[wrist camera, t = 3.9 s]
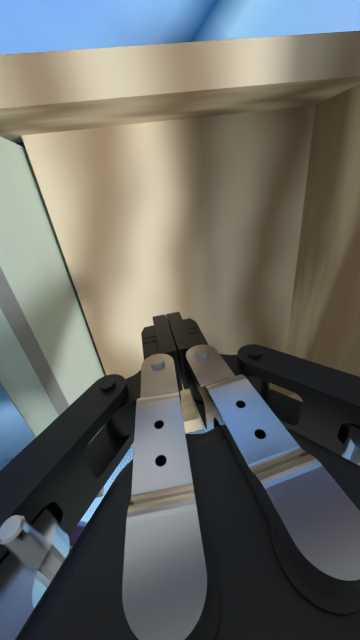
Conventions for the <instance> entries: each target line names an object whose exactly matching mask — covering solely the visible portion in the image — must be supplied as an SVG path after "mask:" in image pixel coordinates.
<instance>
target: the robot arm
mask: <svg viewBox="0 0 360 640" xmlns="http://www.w3.org/2000/svg"><path fill="white" fill-rule="evenodd" d="M152 318H153V323H154V325H153V326H148V327H144V329H143V331H142V332H141V337H142V347H143V356H144V361H143V363H142V366H141V370H140V371H139V372H138V373H136V374H135V375H133V376H131V377H129V378H127V379H125V378H124V377H123V376H121V375H118V374H110V375H106V376H104V377H102V378H100V379H98V380H97V381H96V382H94V383H93V384H92V385H91V386H90V387H89V388H88V389H87V390H86V391H85V392H84V393H83V394H82V395H81V396H80V397H79V398H77V399H76V400H75V401H74V402H73V403H72V404H71V405H70V406H69V407H68V408H67V409H66V410H65V411H64V412H63V413H62V414H60V415H59V416H58V417H57V418H56V419H55V420H54V421H53V422H52V423H51V424H50V425H49V426H48V427H47V428H46V429H45V430H44V431H42V432H41V433H40V434H39V435H38V436H37V437H36V438H35V439H34V440H33V441H32V442H31V443H30V444H29V445H28V446H27V447H25V448H24V449H23V450H22V451H21V452H20V453H19V454H18V455H17V456H16V457H15V458H14V459H13V460H12V461H11V462H10V463H8V464H7V465H6V466H5V467H4V468H3V469H2V470H1V471H0V640H360V377H359V376H356V375H352V374H349V373H346V372H343V371H340V370H337V369H334V368H330V367H327V366H324V365H321V364H318V363H315V362H311V361H308V360H305V359H302V358H299V357H296V356H293V355H289V354H286V353H283V352H280V351H277V350H274V349H271V348H267V347H264V346H261V345H256V344H250V345H245V346H243V347H241V348H240V349H239V350H238V353H237V355H225V354H219V353H218V351H217V350H216V349H215V348H214V347H212V346H209V344H208V343H207V341H206V339H205V337H204V335H203V334H202V332H201V330H200V328H199V326H198V324H197V323H196V321H194V320H192V319H191V318H188V319H182V317H181V315H180V312H174V313H168V314H166V315H165V314H164V315H158V316H153V317H152ZM270 383H272V384H274V385H277V386H279V387H282V388H284V389H287V390H289V391H292V392H294V393H296V394H297V395H299V396H300V398H301V399H302V401H303V402H301V401H299V400H296V399H294V398H291V397H289V396H287V395H284V394H282V393H280V392H277V391H275V390H273V389H270V388H269V387H270ZM182 384H183V387H184V390H186V389H190V392H191V399H192V403H193V406H194V408H195V411H196V413H197V415H198V418H199V420H200V423H201V425H202V427H203V430H204V432H205V433H203V434H186V433H185V427H184V421H183V415H182V408H181V393H180V391H182V390H183V388H182ZM103 426H104V427H103ZM102 427H103V428H102ZM97 433H98V434H97ZM92 439H93V440H92ZM91 440H92V441H91ZM133 442H134V454H133V460H132V461H130V462H129V463H128V464H127V465H126V466H125V467H124V468H123V469H122V471H121V472H120V473H119V475H118V476H117V477H116V479H115V480H114V482H113V483H112V485H111V487H110V488H109V490H108V491H107V493H106V495H105V496H104V498H103V499H102V501H101V503H100V504H99V506H98V507H97V509H96V511H95V512H94V514H93V515H92V517H91V519H90V520H89V522H88V523H87V525H86V527H85V528H84V530H83V531H82V533H81V535H80V536H79V538H78V539H77V541H76V543H75V544H74V546H73V547H72V549H71V551H70V552H69V536H70V534H71V533H72V531H73V530H74V529H75V527H76V526H77V524H78V523H79V521H80V520H81V518H82V517H83V515H84V514H85V512H86V511H87V510H88V508H89V507H90V505H91V504H92V502H93V501H94V499H95V498H96V496H97V495H98V494H99V492H100V491H101V489H102V488H103V486H104V485H105V483H106V482H107V480H108V479H109V477H110V476H111V475H112V473H113V472H114V470H115V469H116V467H117V466H118V464H119V463H120V461H121V460H122V458H123V457H124V456H125V454H126V453H127V451H128V450H129V448H130V447H131V445H132V444H133ZM68 553H69V554H68Z"/></svg>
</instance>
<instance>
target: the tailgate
mask: <svg viewBox="0 0 360 640" xmlns="http://www.w3.org/2000/svg"><path fill="white" fill-rule="evenodd" d="M104 376H106V373H105V370H104V367H103V364H102V362H101V359H100V356H99V353H98V350H97V347H96V345H95V342H94V339H93V336H92V333H91V331H90V328H89V325H88V322H87V319H86V317H85V314H84V311H83V308H82V305H81V302H80V300H79V297H78V294H77V291H76V288H75V286H74V283H73V280H72V277H71V274H70V271H69V269H68V266H67V263H66V260H65V257H64V255H63V252H62V249H61V246H60V243H59V240H58V238H57V235H56V232H55V229H54V226H53V224H52V221H51V218H50V215H49V212H48V209H47V207H46V204H45V201H44V198H43V195H42V193H41V190H40V187H39V184H38V181H37V179H36V176H35V173H34V170H33V167H32V164H31V162H30V159H29V156H28V153H27V150H26V148H24V147H22V146H20V145H18V144H16V143H14V142H11V141H9V140H7V139H5V138H3V137H1V136H0V384H1V386H2V387H3V389H4V390H5V392H6V393H7V395H8V396H9V398H10V399H11V401H12V402H13V404H14V406H15V407H16V409H17V410H18V412H19V413H20V415H21V416H22V418H23V419H24V421H25V422H26V424H27V425H28V427H29V428H30V430H31V432H32V433H33V435H34V436H35V438H36V437H37V436H38V435H39V434H40V433H41V432H42V431H44V430H45V429H46V428H47V427H48V426H49V425H50V424H51V423H52V422H53V421H54V420H55V419H56V418H57V417H58V416H59V415H60V414H62V413H63V412H64V411H65V410H66V409H67V408H68V407H69V406H70V405H71V404H72V403H73V402H74V401H75V400H76V399H77V398H79V397H80V396H81V395H82V394H83V393H84V392H85V391H86V390H87V389H88V388H89V387H90V386H91V385H92V384H93V383H94V382H96V381H97V380H98V379H100V378H102V377H104ZM103 427H104V426H103ZM103 427H102V428H103ZM97 434H98V433H97ZM92 440H93V439H92ZM92 440H91V441H92ZM103 490H104V486H103V488H102V489H101V491H100V492H99V494H98V495H97V496H96V498H97V497H101V496H103Z"/></svg>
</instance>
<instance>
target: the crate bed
mask: <svg viewBox="0 0 360 640" xmlns="http://www.w3.org/2000/svg"><path fill="white" fill-rule="evenodd" d="M0 136H1V137H3V138H5V139H7V140H9V141H11V142H14V143H17V142H24V145H25V148H26V150H27V153H28V156H29V159H30V162H31V164H32V167H33V170H34V173H35V176H36V179H37V181H38V184H39V187H40V190H41V193H42V195H43V198H44V201H45V204H46V207H47V209H48V212H49V215H50V218H51V221H52V224H53V226H54V229H55V232H56V235H57V238H58V240H59V243H60V246H61V249H62V252H63V255H64V257H65V260H66V263H67V266H68V269H69V271H70V274H71V277H72V280H73V283H74V286H75V288H76V291H77V294H78V297H79V300H80V302H81V305H82V308H83V311H84V314H85V317H86V319H87V322H88V325H89V328H90V331H91V333H92V336H93V339H94V342H95V345H96V347H97V350H98V353H99V356H100V359H101V362H102V364H103V367H104V370H105V373H106V375H110V374H118V375H121V376H123V377H124V378H125V379H127V378H129V377H131V376H133V375H135V374H136V373H138V372H139V371H140V370H141V366H142V363H143V361H144V356H143V347H142V337H141V332H142V331H143V329H144V327H148V326H153V325H154V323H153V318H152V317H153V316H158V315H164V314H165V315H166V314H168V313H174V312H180V315H181V317H182V319H188V318H191V319H192V320H194V321H196V323H197V324H198V326H199V328H200V330H201V332H202V334H203V335H204V337H205V339H206V341H207V343H208V344H209V346H212V347H214V348H215V349H216V350H217V351H218V353H219V354H225V355H237V353H238V350H239V349H240V348H241V347H243V346H245V345H250V344H256V345H261V346H264V347H267V348H271V349H274V350H277V351H280V352H283V353H286V354H289V355H293V356H296V357H299V358H302V359H305V360H308V361H311V362H315V363H318V364H321V365H324V366H327V367H330V368H334V369H337V370H340V371H343V372H346V373H349V374H352V375H356V376H359V377H360V31H349V32H335V33H320V34H305V35H290V36H275V37H260V38H245V39H230V40H215V41H200V42H186V43H171V44H156V45H141V46H126V47H111V48H96V49H81V50H66V51H51V52H37V53H22V54H7V55H0ZM182 388H183V390H182V391H180V393H181V408H182V415H183V421H184V427H185V433H189V432H193V431H197V430H201V429H203V427H202V425H201V423H200V420H199V418H198V415H197V413H196V411H195V408H194V406H193V403H192V399H191V392H190V389H186V390H184V387H183V384H182ZM269 388H270V389H273V390H275V391H277V392H280V393H282V394H284V395H287V396H289V397H291V398H294V399H296V400H299V401H301V402H303V401H302V399H301V398H300V396H299V395H297V394H296V393H294V392H292V391H289V390H287V389H284V388H282V387H279V386H277V385H274V384H272V383H270V387H269ZM131 447H134V442H133V444H132V445H131ZM131 447H130V448H131Z"/></svg>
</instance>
